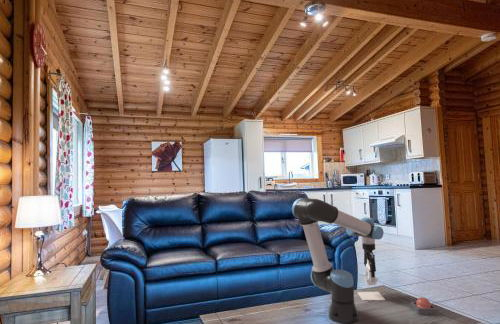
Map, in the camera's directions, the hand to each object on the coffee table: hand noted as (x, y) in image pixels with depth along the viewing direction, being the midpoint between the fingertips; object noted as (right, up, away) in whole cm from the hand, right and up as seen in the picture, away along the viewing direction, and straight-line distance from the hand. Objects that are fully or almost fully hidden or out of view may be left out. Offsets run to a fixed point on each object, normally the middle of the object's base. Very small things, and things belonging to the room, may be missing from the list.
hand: (370, 279), depth 201 cm
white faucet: (0, -3, 0) cm, 3 cm away
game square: (0, -10, -1) cm, 10 cm away
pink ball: (+21, -9, -23) cm, 32 cm away
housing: (+21, -9, -23) cm, 32 cm away
